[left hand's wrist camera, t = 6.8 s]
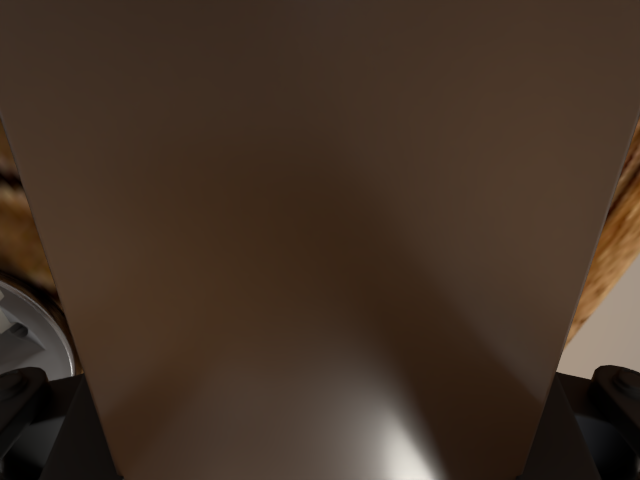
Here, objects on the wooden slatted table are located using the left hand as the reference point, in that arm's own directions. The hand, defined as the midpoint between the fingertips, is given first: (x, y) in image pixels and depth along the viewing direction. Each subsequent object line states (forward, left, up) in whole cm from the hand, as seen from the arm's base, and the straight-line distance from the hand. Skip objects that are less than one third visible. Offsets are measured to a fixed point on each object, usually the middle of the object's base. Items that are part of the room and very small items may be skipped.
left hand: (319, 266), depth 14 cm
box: (-2, +7, -2) cm, 8 cm away
